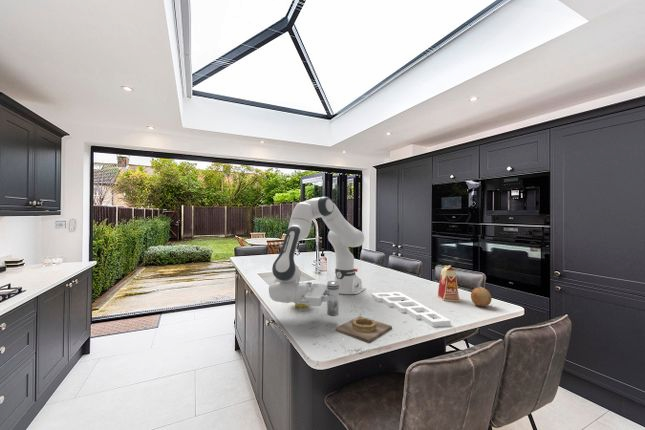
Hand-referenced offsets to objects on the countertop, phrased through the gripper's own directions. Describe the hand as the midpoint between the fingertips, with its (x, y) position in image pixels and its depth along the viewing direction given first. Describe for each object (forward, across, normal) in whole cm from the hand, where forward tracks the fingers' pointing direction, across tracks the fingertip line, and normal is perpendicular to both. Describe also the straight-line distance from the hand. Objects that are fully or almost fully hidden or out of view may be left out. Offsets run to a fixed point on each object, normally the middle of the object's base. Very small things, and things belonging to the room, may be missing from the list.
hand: (335, 295), depth 121 cm
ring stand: (+13, -4, +12) cm, 18 cm away
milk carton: (+59, +49, +13) cm, 78 cm away
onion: (+73, +40, +13) cm, 85 cm away
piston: (-1, 0, +8) cm, 8 cm away
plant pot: (-20, +19, +12) cm, 30 cm away
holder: (+33, +25, +13) cm, 44 cm away
